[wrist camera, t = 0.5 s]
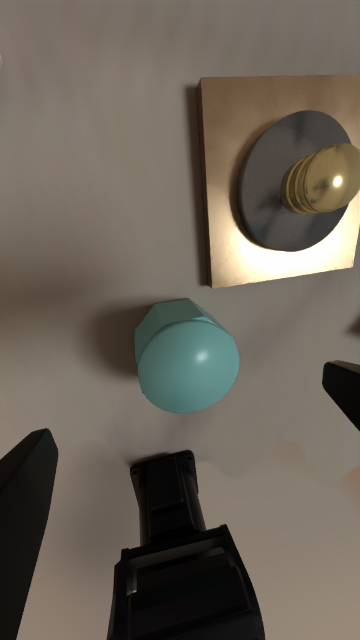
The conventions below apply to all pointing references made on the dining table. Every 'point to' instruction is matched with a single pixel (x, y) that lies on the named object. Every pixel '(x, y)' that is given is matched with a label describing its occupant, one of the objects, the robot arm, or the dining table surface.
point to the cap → (184, 357)
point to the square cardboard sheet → (279, 175)
